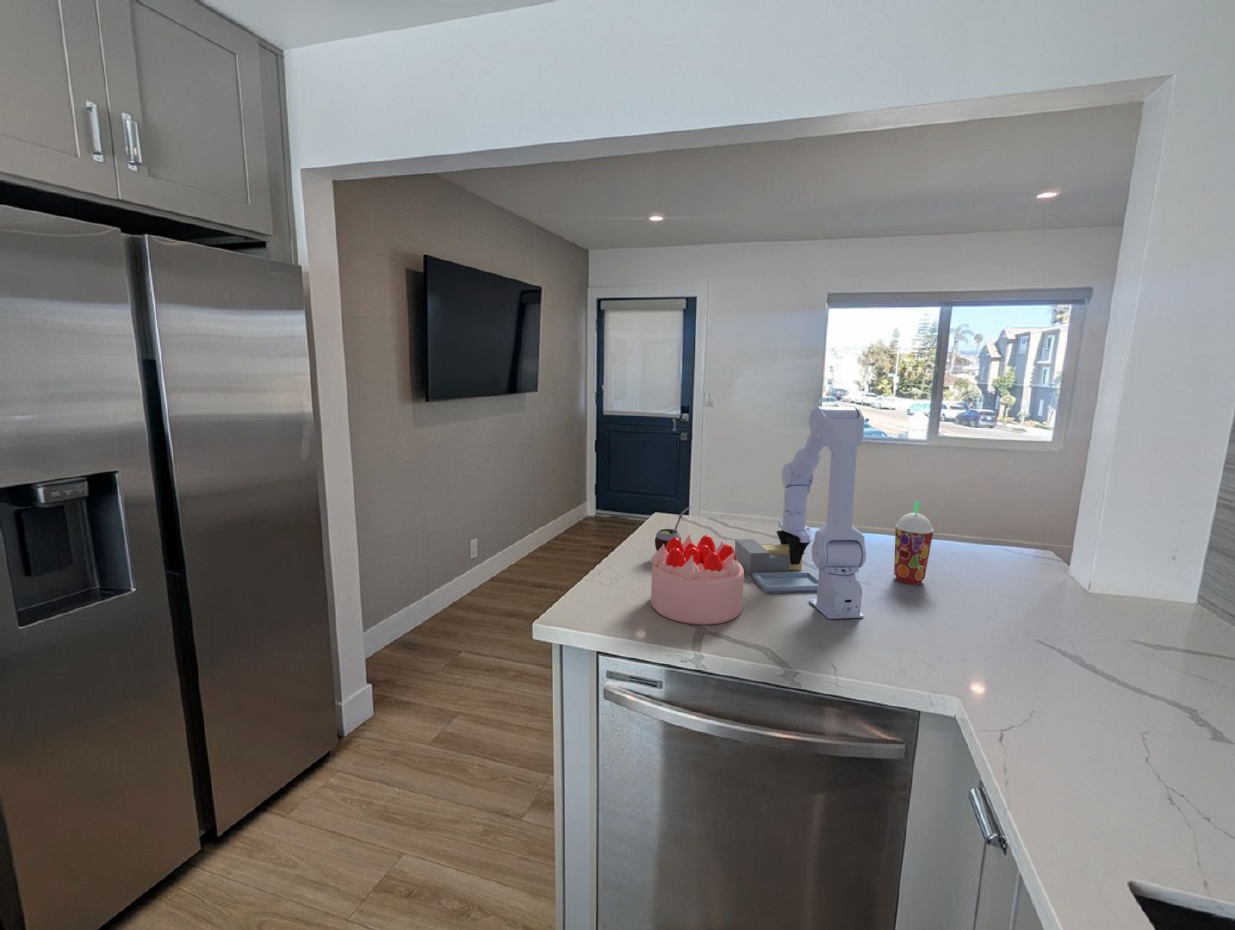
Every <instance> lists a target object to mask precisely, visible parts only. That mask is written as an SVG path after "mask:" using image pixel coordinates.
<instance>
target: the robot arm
mask: <svg viewBox="0 0 1235 930" xmlns="http://www.w3.org/2000/svg"><path fill="white" fill-rule="evenodd" d="M808 420H809V421H808V424H809V429H810V433H809V436H808V437H807V438H808V439H807V441H806V443H805V445H802V446H800V447H799V448H798V449H797V451H796V452H795V455H794V457H793V459H792V460H791V462H787V463H785V464H784V465H783V467H782V471H781V480H782V485H783V486H784V496H783V508H782V509H783V510H782V511H783V512H782V519H778V526H777V527H778V528H781V529H780V530H776V535H777V537H778V540H779V542H780V545H784V544H788V545H789V550H790V562H791V564H792V565H799V564H800V561H801V558H802V559H803V556H804V555H803V553H804V552H806V548H807V547H808V545H809V544H810V543H811V540H810V538H811V535H810V534H809V532H808V531H810V527H809V526H808V525H806V522H807V521H806V520H807V507H808V495H809V494H810V493H811V487H812V484H813V481H814V474H813V473H814V471H815V470H816V468H817V467H818V465H819V463H820V462H821V460H822V455H821V452H822V450H823V449H824V448H825V446H826V447H828V449H829V451H830V466H829V479H828V480H829V482H828V496H827V497H828V498H827V499H828V500H827V514H826V523H825V524H823V526H821V527H820V528H819V529H817V530H815V533H814V538H813V539H814V540H813V543H812V546H811V559H812V562H813V564H814V566H816V567H817V568H818V577H819V578H818V590H817V593H816V598H809V599H808V602H809V604H811V605H812V606H814V608H816V609H817V610H818V611H819V612H820V613H821V614H823V616H825V617H826V618H827V619H829V620H837V619H839V620H841V619H856V618H857V619H859V618H860V619H861V618H865V615H864V614H863V613H862V612H861V608H862V599H863V597H862V596H863V588H862V585H861V584H860V582H859V581H858V580H857V578H856V573H859V570H860V569H861V568H862V567H863V566H864V565H865V563H866V560H867V550H866V546H865V535H863V533H862V532H861V531H860V530H859V529H858V528H856V527H855V526H854V525H853V515H854V514H853V512H854V500H855V499H854V498H855V497H854V495H855V486H856V485H855V483H856V482H855V481H856V470H857V469H856V468H857V453H858V452H857V451H858V447H859V446H861V445H862V444H863V442H864V441H863V440H864V431H865V430H864V429H865V416H864V415H863V413H862V411H861V409H860V408H859V407H858V406H850V407H849V406H845V407H844V406H843V407H842V406H841V407H840V406H819V405H816V406H814V407H813V409H812V410H811V411H810V414H809V418H808ZM802 555H803V556H802Z"/></svg>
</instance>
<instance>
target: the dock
mask: <svg viewBox="0 0 1235 930" xmlns="http://www.w3.org/2000/svg"><path fill="white" fill-rule="evenodd" d="M761 545H774V544H773V543H767V544H766V543H765V544H764V543H762V544H761V543H759V542H758V541H756V540H755V539H754V538H749V539H748V538H746V539H745V538H743V539H740V538H739V539H738V538H737V539H735V542H734V551H735V554H736V557H737V560H738V562H739V563H740V564H741V565H742V567H743V569H744V574H745V573H746V575H747V576H748V577H753V573H771V572H790V570H789V568H790V557H788V556H787V555H786V554H771V555H770V552H768V551H767V550H766V549H765V548H764V547H762V546H761Z"/></svg>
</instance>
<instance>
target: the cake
mask: <svg viewBox="0 0 1235 930" xmlns="http://www.w3.org/2000/svg"><path fill="white" fill-rule="evenodd" d="M719 541H720V542H721V543H720V544H719V546H718V547H717V548H716V544H715V542H714V539H713V538H712V537H711V536H710V535H708V534H705V535H702V536H701V538H700V539H699V541H698V543H697V545H696V544H695V543H693V540H692V539H691V535H690V534H688V535H687V537H686V538H685V540H684V542H683V543H682V540H681V541H680V540H679V539H678V538H676V537H673V538H671V539H670V540H669V542H668V544H667V545H666V548H665V546H664V544H663V546H662V547H661V548H660V549H659V550H658V551H657V550H656V552H655V553H654V555H652V557H650V559H649V560H650V563H651V564H652V565H651V593H650V594H651V596H650V602H651V606H652V608H653V609H654V610H655V612H656V613H658V614H659V615H660V616H662V617H664V618H666V619H669V620H672V621H675V622H678V623H683V624H688V625H700V626H702V625H703V626H704V625H705V626H711V625H718V624H724V623H728V622H729V621H733V620H734V619H736V618H737V617H738V616H739V615H740V614H741V612H742V611H743V610H742V609H743V598H744V584H745V583H744V581H745V580H744V577H745V572H744V569H743V567H742V565H741V564H740V563H739V562H738V560H737V557H736V554H735V548H734V547H733V546H732V545H730V544H726V543H725V542H723V540H721V539H720V540H719Z"/></svg>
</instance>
